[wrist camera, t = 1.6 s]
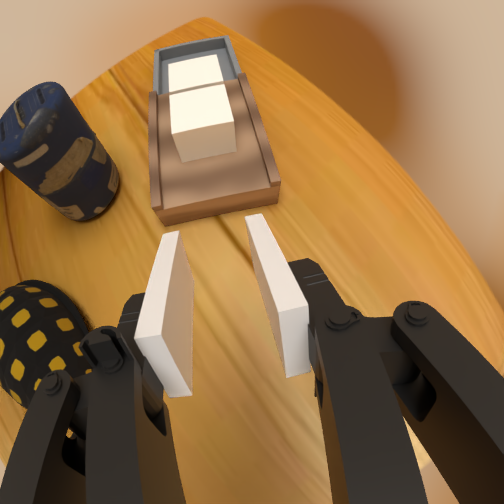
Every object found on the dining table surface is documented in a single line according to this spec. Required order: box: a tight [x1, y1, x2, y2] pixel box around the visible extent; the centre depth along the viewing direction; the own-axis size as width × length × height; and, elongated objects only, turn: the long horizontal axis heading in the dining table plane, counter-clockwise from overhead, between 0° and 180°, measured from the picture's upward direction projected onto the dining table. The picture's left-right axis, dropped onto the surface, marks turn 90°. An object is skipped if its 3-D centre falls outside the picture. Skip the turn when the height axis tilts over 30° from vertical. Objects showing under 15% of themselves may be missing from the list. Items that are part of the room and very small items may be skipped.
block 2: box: [169, 84, 237, 163], centre depth 28 cm, size 6×6×5 cm
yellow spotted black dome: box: [0, 280, 93, 409], centre depth 23 cm, size 16×9×20 cm
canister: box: [0, 82, 119, 221], centre depth 25 cm, size 10×10×18 cm
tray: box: [153, 35, 242, 95], centre depth 38 cm, size 15×13×3 cm
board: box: [149, 73, 281, 226], centre depth 32 cm, size 18×13×5 cm
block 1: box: [168, 55, 224, 95], centre depth 30 cm, size 6×6×5 cm
